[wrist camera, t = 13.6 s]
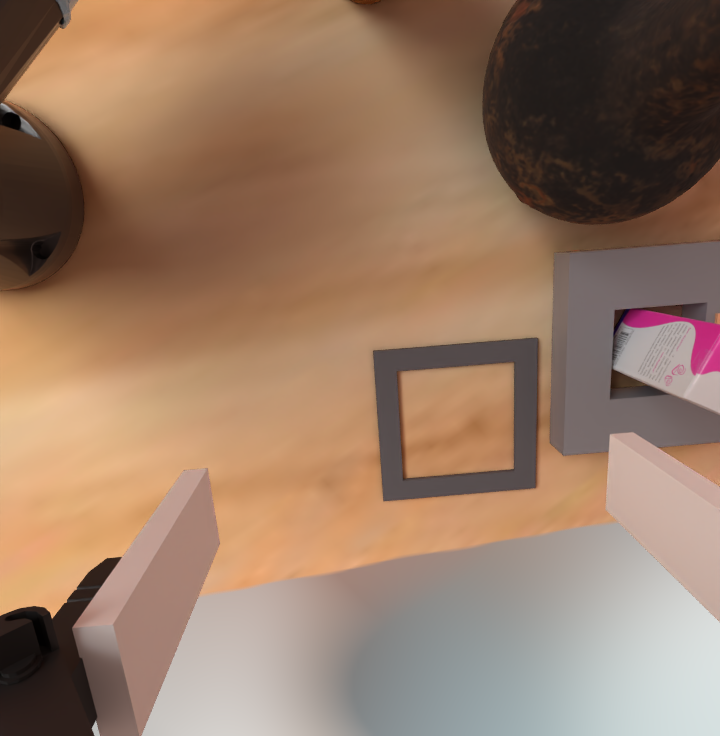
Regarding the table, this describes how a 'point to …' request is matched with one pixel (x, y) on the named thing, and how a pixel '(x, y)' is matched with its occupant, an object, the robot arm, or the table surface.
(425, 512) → the table surface
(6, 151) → the robot arm
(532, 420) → the flat grey square frame
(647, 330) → the supplement box
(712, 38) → the glass bottle
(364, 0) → the disposable coffee cup
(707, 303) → the socket plate
